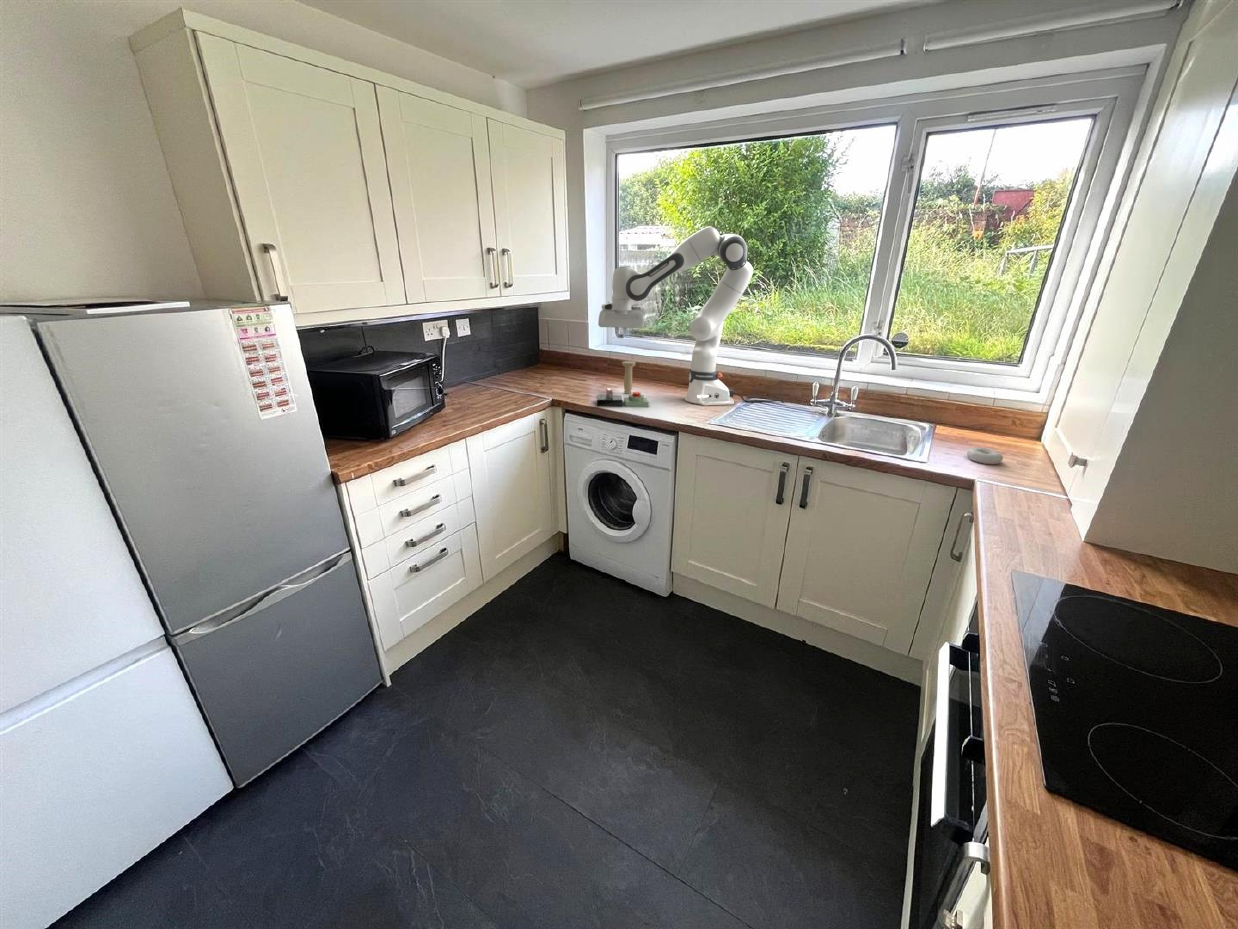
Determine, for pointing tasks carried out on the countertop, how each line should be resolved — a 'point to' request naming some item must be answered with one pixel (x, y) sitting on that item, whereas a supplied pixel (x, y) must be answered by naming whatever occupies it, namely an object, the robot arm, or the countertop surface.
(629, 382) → the handle
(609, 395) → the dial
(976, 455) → the donut
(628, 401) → the switch block
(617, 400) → the hob panel
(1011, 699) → the countertop surface
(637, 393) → the button
